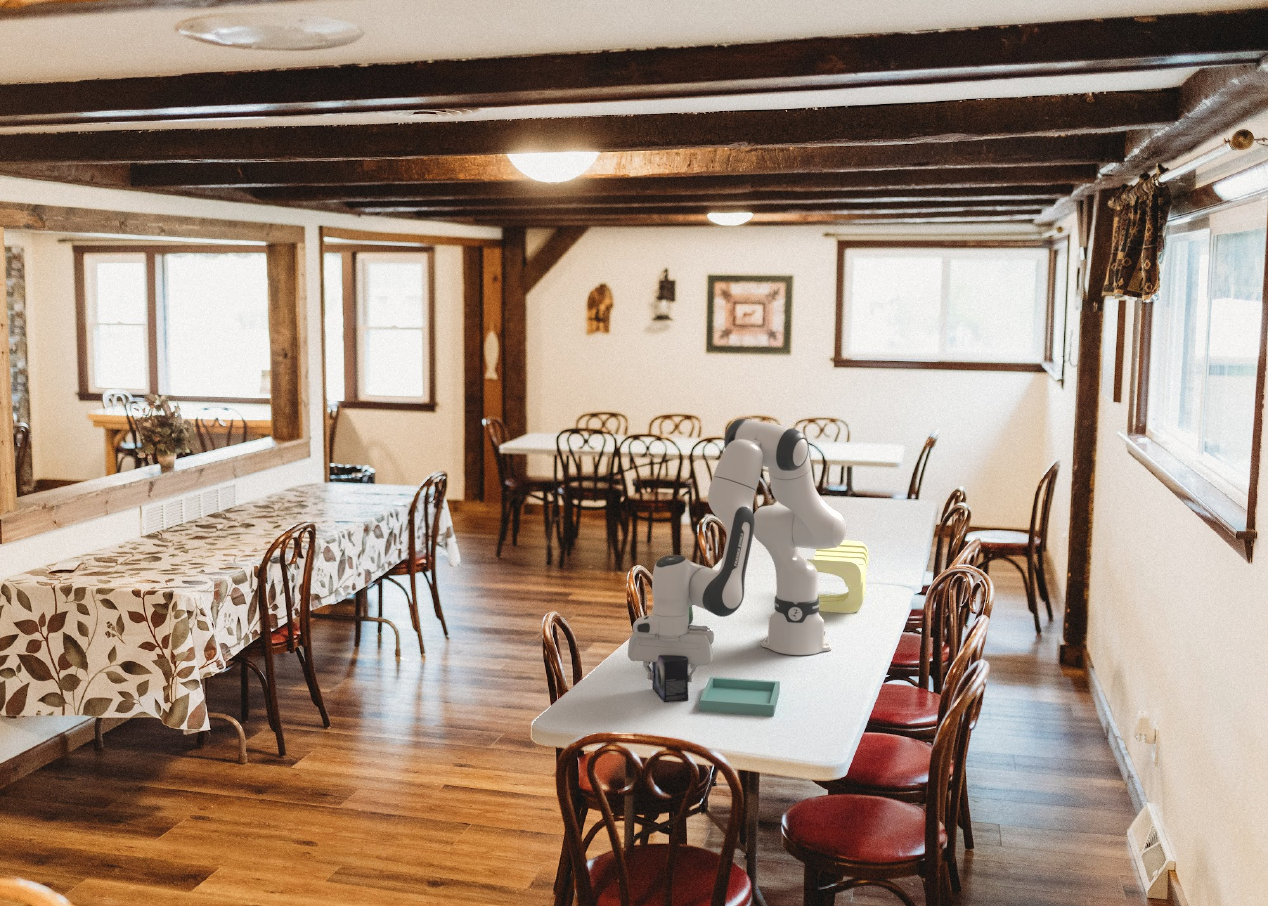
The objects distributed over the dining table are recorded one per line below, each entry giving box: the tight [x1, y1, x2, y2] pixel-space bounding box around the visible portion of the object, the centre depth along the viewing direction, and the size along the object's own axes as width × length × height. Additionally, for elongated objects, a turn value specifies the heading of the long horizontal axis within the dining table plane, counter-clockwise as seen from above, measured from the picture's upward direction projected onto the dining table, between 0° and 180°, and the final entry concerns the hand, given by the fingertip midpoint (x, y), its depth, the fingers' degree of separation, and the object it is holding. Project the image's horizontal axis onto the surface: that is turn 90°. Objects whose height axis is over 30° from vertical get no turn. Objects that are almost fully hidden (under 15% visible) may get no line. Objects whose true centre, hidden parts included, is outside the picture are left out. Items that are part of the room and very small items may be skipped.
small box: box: [651, 655, 689, 704], centre depth 280 cm, size 11×6×10 cm, turn 15°
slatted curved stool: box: [806, 539, 869, 614], centre depth 359 cm, size 30×16×18 cm, turn 165°
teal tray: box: [699, 676, 781, 717], centre depth 276 cm, size 17×17×3 cm
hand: (670, 680), depth 280 cm, fingers closed on small box, 8 cm apart
